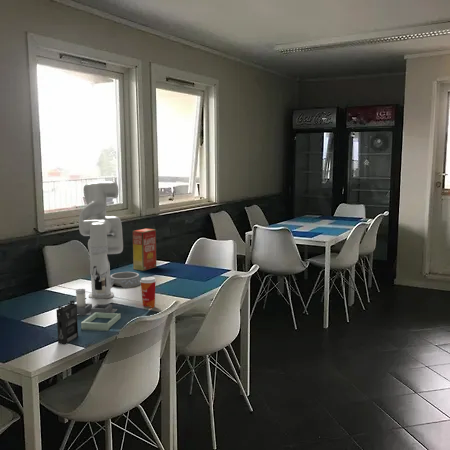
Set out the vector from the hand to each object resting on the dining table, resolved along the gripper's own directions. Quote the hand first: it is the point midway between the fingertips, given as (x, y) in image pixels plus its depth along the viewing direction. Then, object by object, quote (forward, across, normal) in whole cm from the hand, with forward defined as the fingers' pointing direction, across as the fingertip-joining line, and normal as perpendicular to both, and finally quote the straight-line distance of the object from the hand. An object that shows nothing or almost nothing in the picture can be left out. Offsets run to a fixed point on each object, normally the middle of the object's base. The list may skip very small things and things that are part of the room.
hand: (100, 287), depth 232 cm
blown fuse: (+3, 0, 0) cm, 3 cm away
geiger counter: (+11, +34, 0) cm, 36 cm away
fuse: (+11, +1, -10) cm, 15 cm away
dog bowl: (+14, -53, -9) cm, 56 cm away
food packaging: (+15, -92, -10) cm, 94 cm away
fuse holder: (+12, +1, -4) cm, 13 cm away
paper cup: (+13, -13, +18) cm, 26 cm away
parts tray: (+12, +15, +6) cm, 20 cm away
